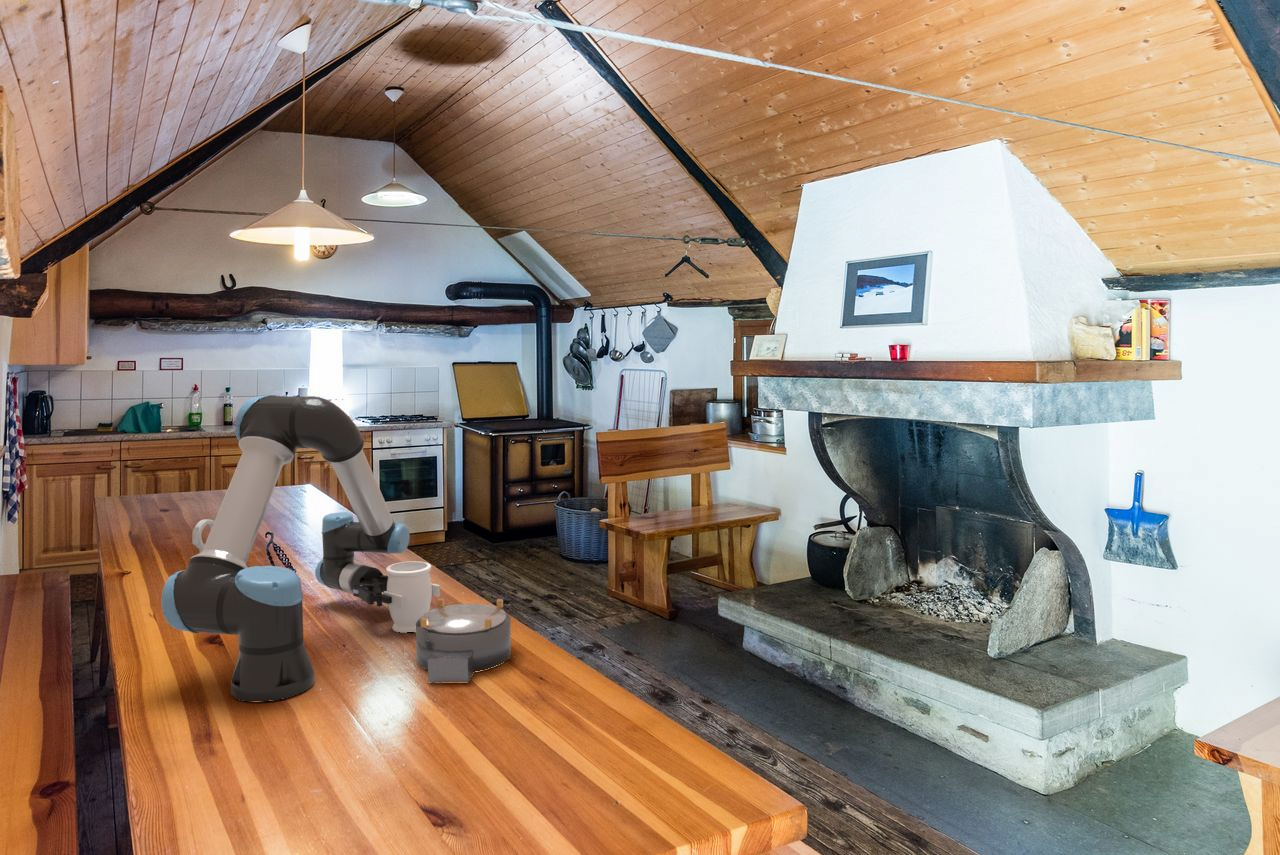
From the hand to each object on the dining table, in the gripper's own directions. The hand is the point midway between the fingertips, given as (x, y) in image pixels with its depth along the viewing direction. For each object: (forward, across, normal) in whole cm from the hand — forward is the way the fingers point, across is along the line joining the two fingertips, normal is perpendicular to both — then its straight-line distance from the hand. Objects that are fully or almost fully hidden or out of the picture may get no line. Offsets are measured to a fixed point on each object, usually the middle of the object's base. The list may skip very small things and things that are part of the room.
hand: (420, 596), depth 197 cm
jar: (-4, 0, -9) cm, 10 cm away
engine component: (-69, +15, -9) cm, 72 cm away
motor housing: (+21, +7, -8) cm, 24 cm away
